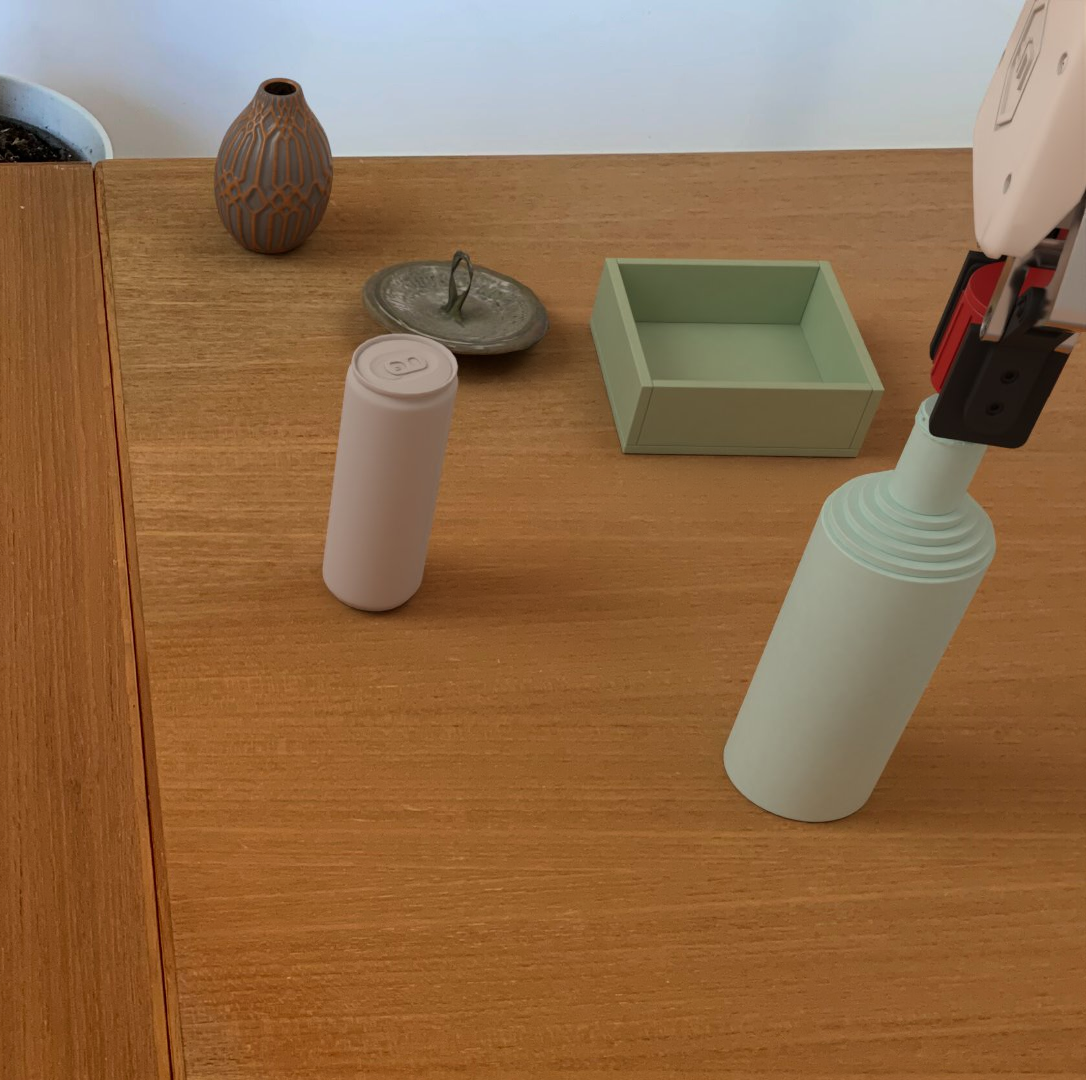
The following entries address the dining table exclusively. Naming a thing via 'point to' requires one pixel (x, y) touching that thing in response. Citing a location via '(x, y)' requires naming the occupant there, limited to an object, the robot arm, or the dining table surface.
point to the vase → (273, 170)
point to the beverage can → (388, 469)
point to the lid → (456, 305)
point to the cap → (976, 313)
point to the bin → (732, 358)
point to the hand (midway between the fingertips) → (975, 395)
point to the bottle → (862, 630)
